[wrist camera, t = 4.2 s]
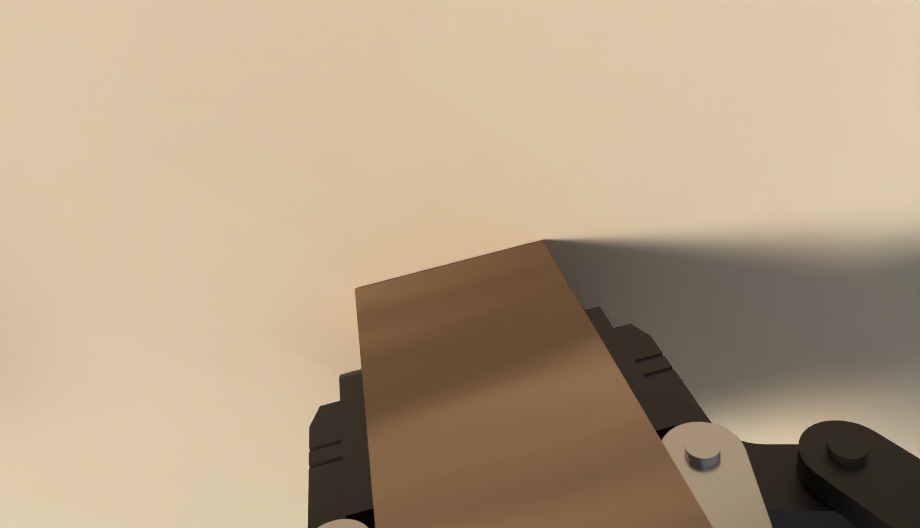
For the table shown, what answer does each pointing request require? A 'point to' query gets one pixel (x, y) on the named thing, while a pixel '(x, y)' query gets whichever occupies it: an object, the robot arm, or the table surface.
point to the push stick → (505, 406)
